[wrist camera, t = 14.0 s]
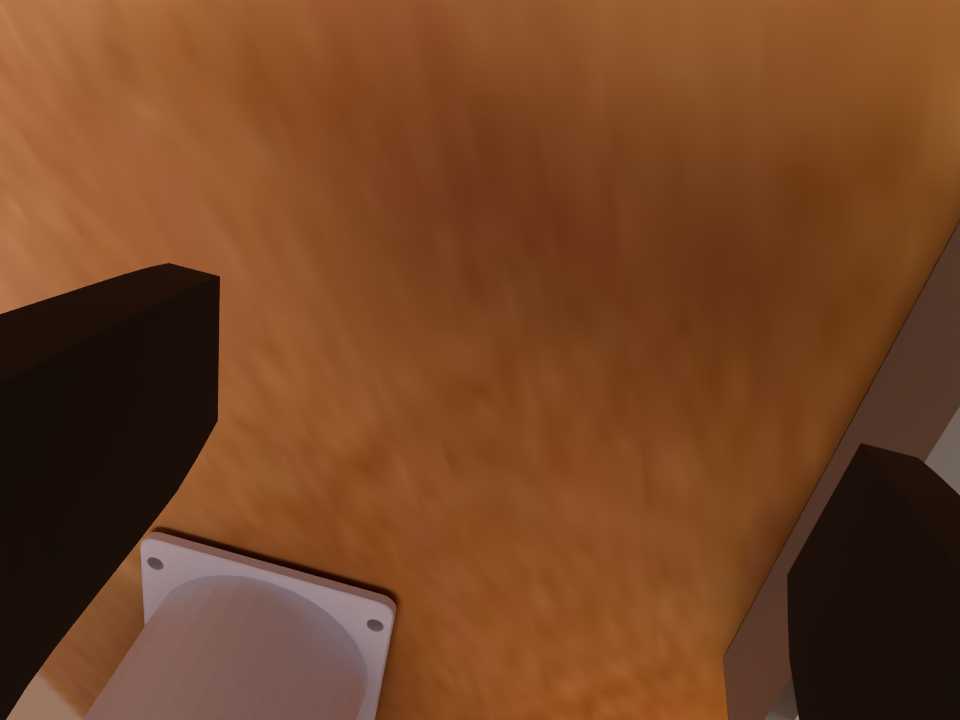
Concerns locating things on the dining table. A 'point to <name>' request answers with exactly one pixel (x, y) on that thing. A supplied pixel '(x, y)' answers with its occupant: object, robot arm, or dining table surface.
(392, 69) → the dining table surface
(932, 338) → the tray
